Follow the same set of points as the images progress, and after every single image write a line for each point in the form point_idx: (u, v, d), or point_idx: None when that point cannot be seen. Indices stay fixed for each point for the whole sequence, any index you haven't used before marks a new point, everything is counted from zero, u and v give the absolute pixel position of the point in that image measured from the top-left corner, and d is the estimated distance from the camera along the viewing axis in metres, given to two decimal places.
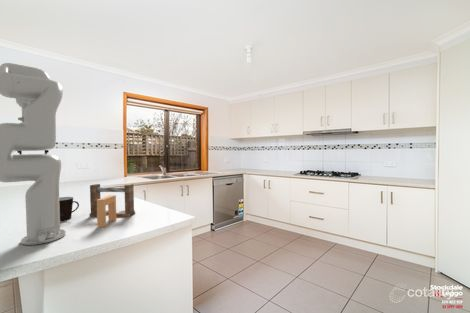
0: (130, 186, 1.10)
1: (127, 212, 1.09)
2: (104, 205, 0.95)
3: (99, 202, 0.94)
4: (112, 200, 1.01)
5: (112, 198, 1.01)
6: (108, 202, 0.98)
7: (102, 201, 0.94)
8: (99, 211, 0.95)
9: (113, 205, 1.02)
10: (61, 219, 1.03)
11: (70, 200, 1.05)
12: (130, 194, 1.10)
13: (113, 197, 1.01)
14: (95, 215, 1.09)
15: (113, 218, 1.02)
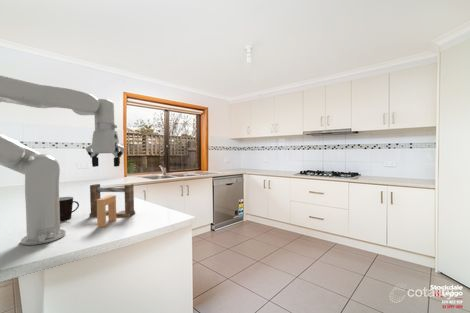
0: (130, 186, 1.10)
1: (127, 212, 1.09)
2: (104, 205, 0.95)
3: (99, 202, 0.94)
4: (112, 200, 1.01)
5: (112, 198, 1.01)
6: (108, 202, 0.98)
7: (102, 201, 0.94)
8: (99, 211, 0.95)
9: (113, 205, 1.02)
10: (61, 219, 1.03)
11: (70, 200, 1.05)
12: (130, 194, 1.10)
13: (113, 197, 1.01)
14: (95, 215, 1.09)
15: (113, 218, 1.02)
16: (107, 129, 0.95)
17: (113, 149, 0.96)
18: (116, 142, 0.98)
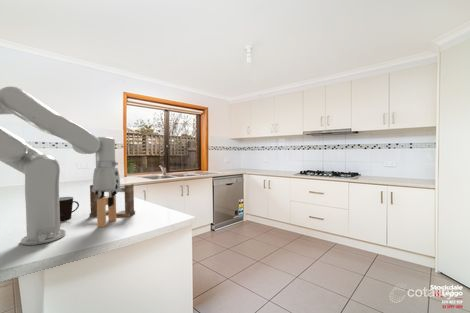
0: (130, 186, 1.10)
1: (127, 212, 1.09)
2: (104, 205, 0.95)
3: (99, 202, 0.94)
4: None
5: None
6: None
7: (102, 201, 0.94)
8: (99, 211, 0.95)
9: (113, 205, 1.02)
10: (61, 219, 1.03)
11: (70, 200, 1.05)
12: (130, 194, 1.10)
13: None
14: (95, 215, 1.09)
15: (113, 218, 1.02)
16: (108, 167, 0.96)
17: (114, 186, 0.97)
18: (117, 179, 0.98)
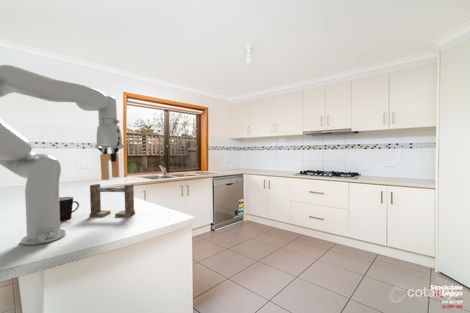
0: (130, 186, 1.10)
1: (127, 212, 1.09)
2: (107, 159, 1.01)
3: (102, 156, 1.01)
4: None
5: None
6: None
7: (105, 155, 1.01)
8: (103, 165, 1.01)
9: (116, 162, 1.09)
10: (61, 219, 1.03)
11: (70, 200, 1.05)
12: (130, 194, 1.10)
13: (116, 154, 1.08)
14: (95, 215, 1.09)
15: (116, 174, 1.09)
16: (110, 124, 1.02)
17: (116, 143, 1.03)
18: (118, 136, 1.05)
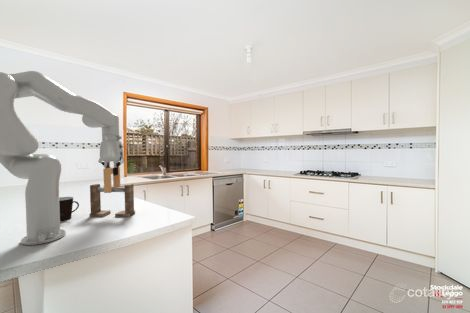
0: (130, 186, 1.10)
1: (127, 212, 1.09)
2: (110, 173, 1.07)
3: (105, 171, 1.07)
4: None
5: None
6: None
7: (108, 170, 1.07)
8: (105, 179, 1.07)
9: (118, 175, 1.15)
10: (61, 219, 1.03)
11: (70, 200, 1.05)
12: (130, 194, 1.10)
13: None
14: (95, 215, 1.09)
15: None
16: (113, 140, 1.08)
17: (118, 158, 1.09)
18: (121, 151, 1.11)
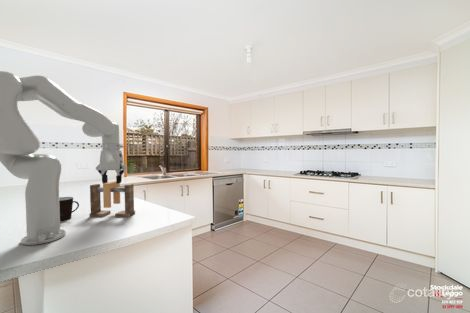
0: (130, 186, 1.10)
1: (127, 212, 1.09)
2: (109, 188, 1.07)
3: (105, 186, 1.07)
4: (116, 185, 1.13)
5: (116, 183, 1.13)
6: (113, 186, 1.10)
7: (107, 185, 1.07)
8: (105, 193, 1.07)
9: None
10: (61, 219, 1.03)
11: (70, 200, 1.05)
12: (130, 194, 1.10)
13: None
14: (95, 215, 1.09)
15: (117, 201, 1.15)
16: (113, 149, 1.08)
17: (118, 166, 1.09)
18: (121, 160, 1.11)
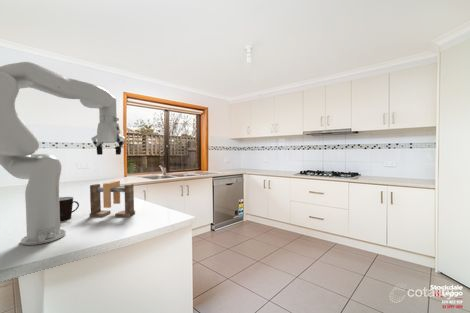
0: (130, 186, 1.10)
1: (127, 212, 1.09)
2: (109, 188, 1.07)
3: (105, 186, 1.07)
4: (116, 185, 1.13)
5: (116, 183, 1.13)
6: (113, 186, 1.10)
7: (107, 185, 1.07)
8: (105, 193, 1.07)
9: None
10: (61, 219, 1.03)
11: (70, 200, 1.05)
12: (130, 194, 1.10)
13: (117, 182, 1.14)
14: (95, 215, 1.09)
15: (117, 201, 1.15)
16: (110, 121, 1.08)
17: (115, 139, 1.09)
18: (118, 133, 1.11)
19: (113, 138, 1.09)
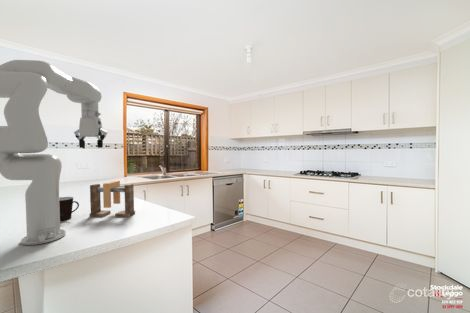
0: (130, 186, 1.10)
1: (127, 212, 1.09)
2: (109, 188, 1.07)
3: (105, 186, 1.07)
4: (116, 185, 1.13)
5: (116, 183, 1.13)
6: (113, 186, 1.10)
7: (107, 185, 1.07)
8: (105, 193, 1.07)
9: None
10: (61, 219, 1.03)
11: (70, 200, 1.05)
12: (130, 194, 1.10)
13: (117, 182, 1.14)
14: (95, 215, 1.09)
15: (117, 201, 1.15)
16: (92, 116, 1.14)
17: (97, 133, 1.15)
18: (99, 127, 1.17)
19: (95, 132, 1.14)
